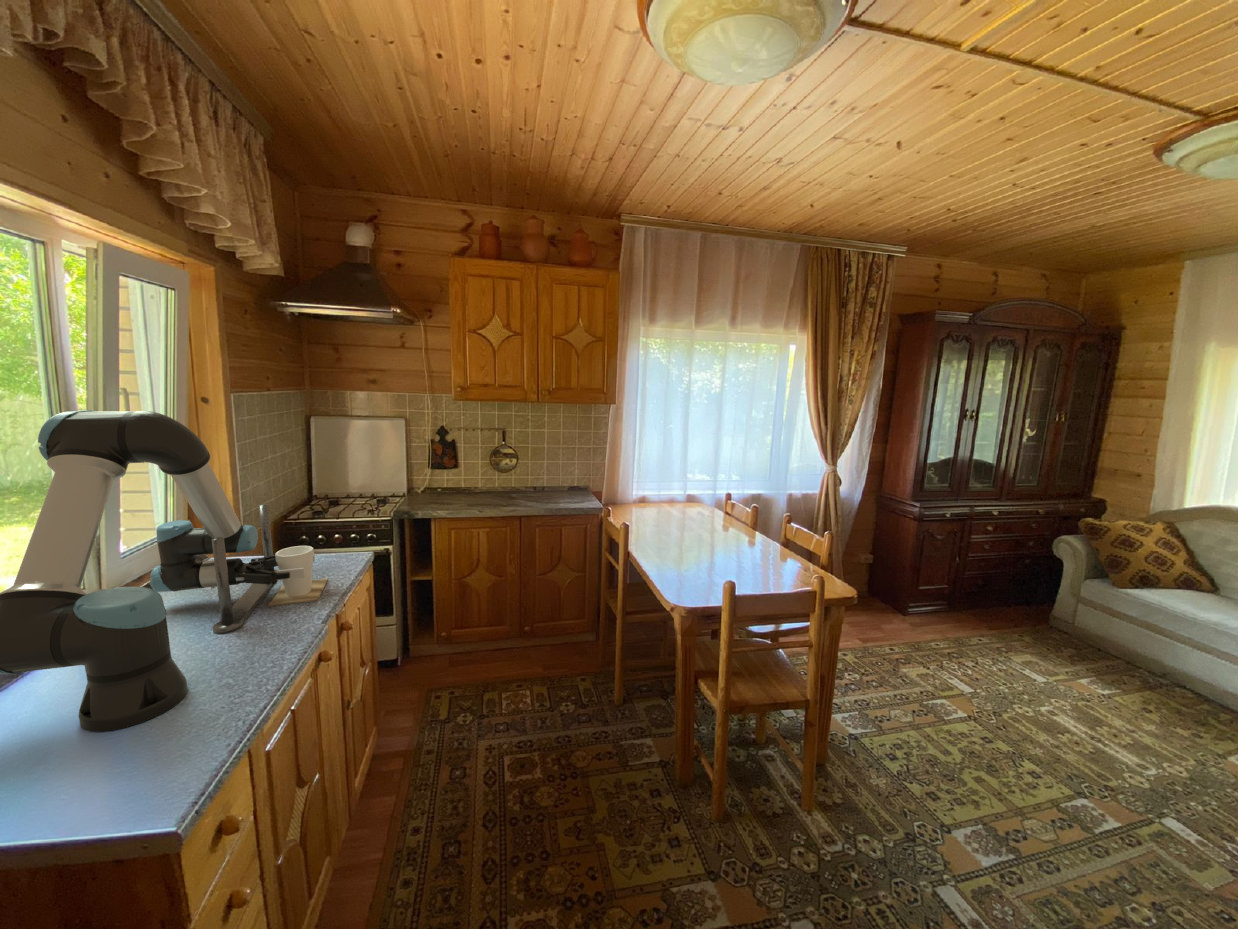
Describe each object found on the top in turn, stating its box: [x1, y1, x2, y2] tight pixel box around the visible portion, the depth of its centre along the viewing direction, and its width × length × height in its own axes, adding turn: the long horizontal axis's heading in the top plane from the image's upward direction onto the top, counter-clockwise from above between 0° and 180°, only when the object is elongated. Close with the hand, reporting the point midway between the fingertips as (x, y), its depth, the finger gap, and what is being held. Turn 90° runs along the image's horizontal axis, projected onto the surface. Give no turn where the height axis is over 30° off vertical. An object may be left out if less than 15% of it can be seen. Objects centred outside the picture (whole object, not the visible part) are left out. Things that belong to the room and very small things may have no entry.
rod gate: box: [212, 503, 278, 635], centre depth 141 cm, size 42×6×24 cm, turn 21°
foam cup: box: [274, 545, 315, 597], centre depth 146 cm, size 10×9×13 cm
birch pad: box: [268, 578, 329, 607], centre depth 148 cm, size 16×12×1 cm
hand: (309, 564), depth 147 cm, fingers open, 13 cm apart
